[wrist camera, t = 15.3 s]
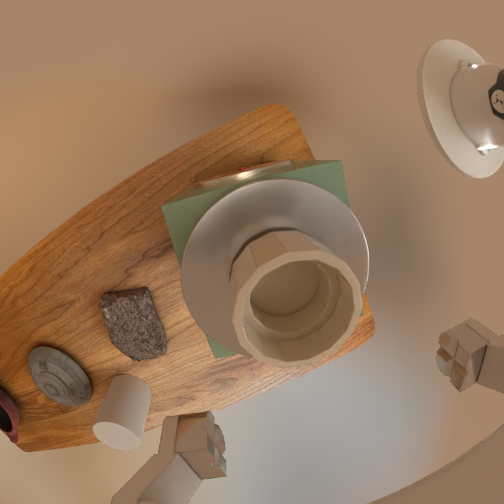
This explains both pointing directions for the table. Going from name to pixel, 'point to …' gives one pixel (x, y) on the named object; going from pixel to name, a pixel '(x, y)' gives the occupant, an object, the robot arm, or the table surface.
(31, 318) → the table surface
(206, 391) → the table surface
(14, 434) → the bowl
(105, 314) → the stone
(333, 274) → the small bowl
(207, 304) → the scale
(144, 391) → the taupe round pillar
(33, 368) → the flying saucer
